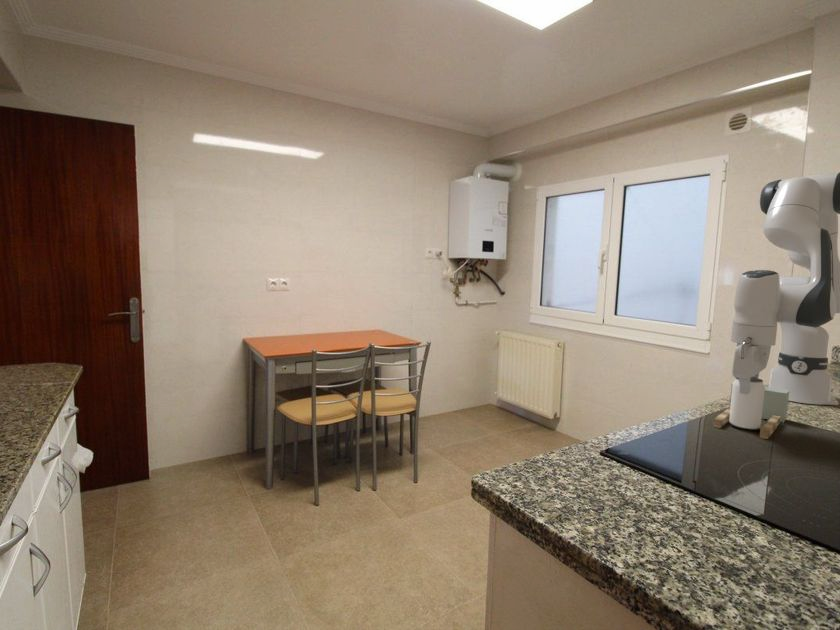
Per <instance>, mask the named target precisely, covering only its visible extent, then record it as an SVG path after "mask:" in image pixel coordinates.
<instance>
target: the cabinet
mask: <svg viewBox="0 0 840 630" xmlns="http://www.w3.org/2000/svg"><path fill="white" fill-rule="evenodd" d="M732 386H733V383H732V384H731V388H730V398H729V399H730V400H729V407H731V396H732ZM764 387H765V390H764V401H763V410H762V418H763V419H762V420H764V419H768V420H767V421H769V419H770V418H771V417H772V416H773V415H775V416H780V417H781V418H780V422H782V423H781V424H784V423H785V422H786V421H785V420H787V415H788V407H789V390H783V389H777V388H771V387H769V386H765V385H764ZM784 421H785V422H784Z"/></svg>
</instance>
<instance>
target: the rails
mask: <svg viewBox="0 0 840 630" xmlns="http://www.w3.org/2000/svg"><path fill="white" fill-rule="evenodd" d="M729 418H730V406H729V407H728V408H726V409H725V410H724V411H723V412H722V413H720V414H718V415H717V416H716V417H714V418H713V423H712V427H713V428H716V429H721V428H722V427H724V426H725V425H726V424H727V423H729V422H730V421H729ZM780 418H781V417H780V416H775V415H773V416H772V417H771V418H770V419H769V420H767V421H766V422H765V424H764V425H763V426H762V427H760V428H759V429H760V430H759V438H761V439H765V440H768V439H769V438H770V437H771V435H772V434H773V433H774V432H775V431H776V430H777V429H778V427H779V426H780V425H781V423H780ZM779 424H780V425H779ZM778 425H779V426H778ZM777 426H778V427H777ZM774 430H775V431H774Z"/></svg>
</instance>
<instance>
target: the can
mask: <svg viewBox="0 0 840 630" xmlns="http://www.w3.org/2000/svg"><path fill="white" fill-rule="evenodd" d="M734 378H735V379H734V380H733V382H732V384H733V386H732V385H731V387H732V396H731V395H730V397H731V407H730V406H729V407H730V418H729V421H728V422H729V423H730V424H731V425H732V426H734V427H737V428H739V429H745V430H751V431H752V430H758V429H761V428H762V427H761V426H762V420H763V419H762V410H763V401H764V390H765V387H766V386H765V384H764V383H763V382H764V380H763V379H761V378H759V377H758V378H754V377H752V378H751V381H750V392H749V393H748V394H741V393H740V392H739V391H740V384H739V378H737V377H734ZM764 386H765V387H764Z"/></svg>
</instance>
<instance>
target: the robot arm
mask: <svg viewBox="0 0 840 630" xmlns="http://www.w3.org/2000/svg"><path fill="white" fill-rule="evenodd" d="M758 201H759V202H758V204H759V207H760V210H761V212H762V213H763V214H765V219H764V224H763V233H764V236H765V238H766V239H767V240H768V241H769V242H770V243H771V244H773V245H774V246H776V247H778V248H780V249H783V250H785V251H788V257H789V260H790V261H791V262H792V263H794V264H795V265H796V266H799V267H800V268H801V267H802V268H805V269H807V270H808V271H809V272H810V276H791V275H790V276H780V274H779V273H778V272H777V271H775V270H767V269H766V270H765V269H764V270H763V269H761V270H760V269H758V270H749V271H748V270H747V271H745V272H743V273H741V275H740V276H739V279H738V283H737V286H736V291H735V296H734V304H733V305H734V310H735V315H734V318H733V320H732V327H731V337H730V341H731V342H732V343H734V344H735V343H736V347H735V349H734V355H733V362H732V369H731V370H732V371H731V373H732V377H733V378H735V377H737V378H739V384H740V391H739V392H740V393H741V394H748V393H749V392H750V381H751V378H752V377H754V378H759V376H760V373H761V372H762V371H763V370H766V368H767V365H768V364H769V358H770V355H771V354H770V353H771V348H772V346H775V345H776V343H777V342H776V341H777V331H778V324H779V325H780V328H781V349H780V352H779V354H778V357H777V360H778V361H777V363H778V364H777V366H775V367H773V368H772V369H771V371H770V377H769V383H768V387H771V388H777V389H783V390H789V400H788V402H794V403H800V404H808V405H827V406H828V405H829V406H839V401H838V400H837V399H836V398H835V397H834V395H833V394H832V393H833V388H832V383H833V377H832V376H831V375H830V374H829V373H828V372H827V369H828V365H829V357H827V356H828V355H827V354H828V346H829V338H830V337H829V336H830V335H829V332H828V331H827V330H826V329H825V328H824V327H823V325H826V324H828V323H829V322H831V321H832V320H834V317H835V315H836V314H840V258H839V251H838V236H839V216H838V215H840V171H839V172H838V173H816V174H814V173H813V174H808V175H805V176H797V177H791V178H786V179H777V180H774V181H771V182H768V183H767V184H766V185H765V186H763V187H762V190H761V192H760V195H759V200H758Z"/></svg>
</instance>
